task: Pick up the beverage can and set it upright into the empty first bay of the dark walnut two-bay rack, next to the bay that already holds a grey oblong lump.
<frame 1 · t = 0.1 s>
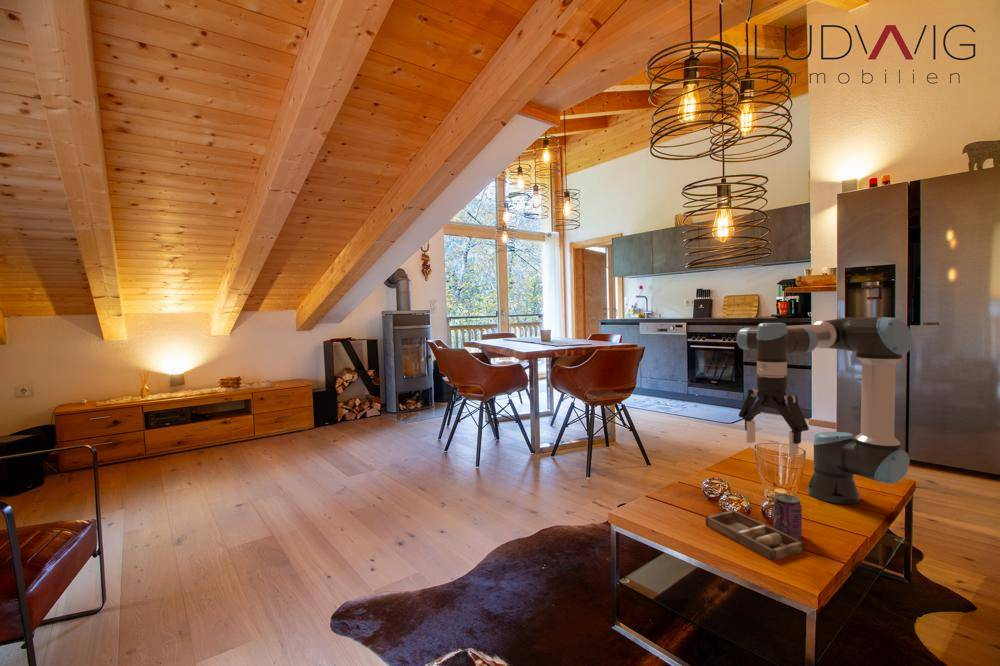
hand: (771, 448, 134), 28 cm above the table, fingers open, 13 cm apart
beverage can: (787, 538, 137), on the table
rack: (751, 540, 135), on the table
grey oblong lump: (768, 545, 130), point 1 cm above the table, touching rack
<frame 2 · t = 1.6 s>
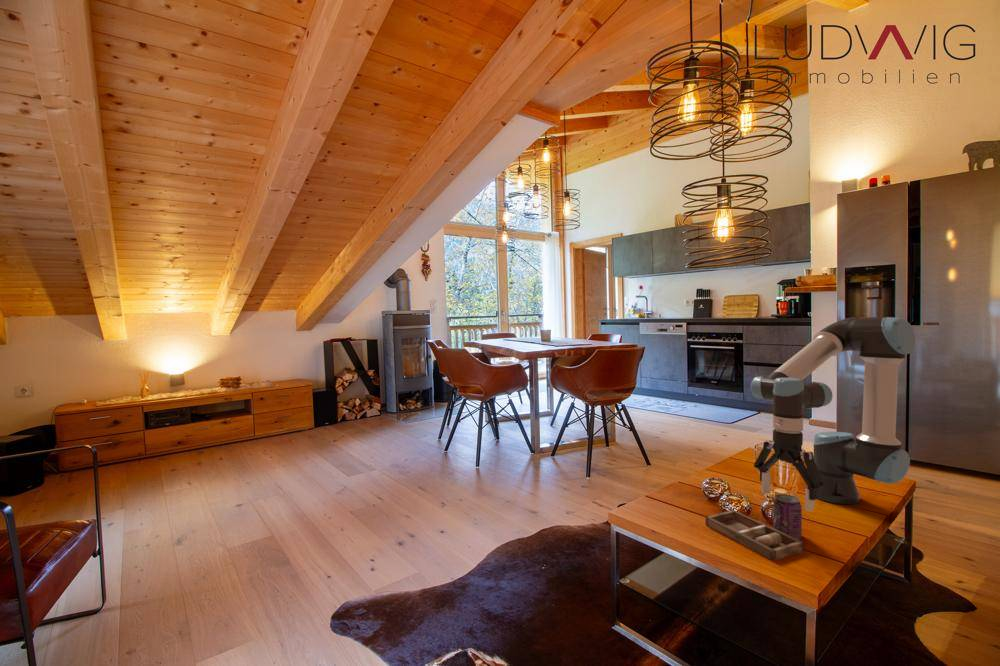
hand: (786, 501, 136), 11 cm above the table, fingers open, 13 cm apart
nothing on the table moved.
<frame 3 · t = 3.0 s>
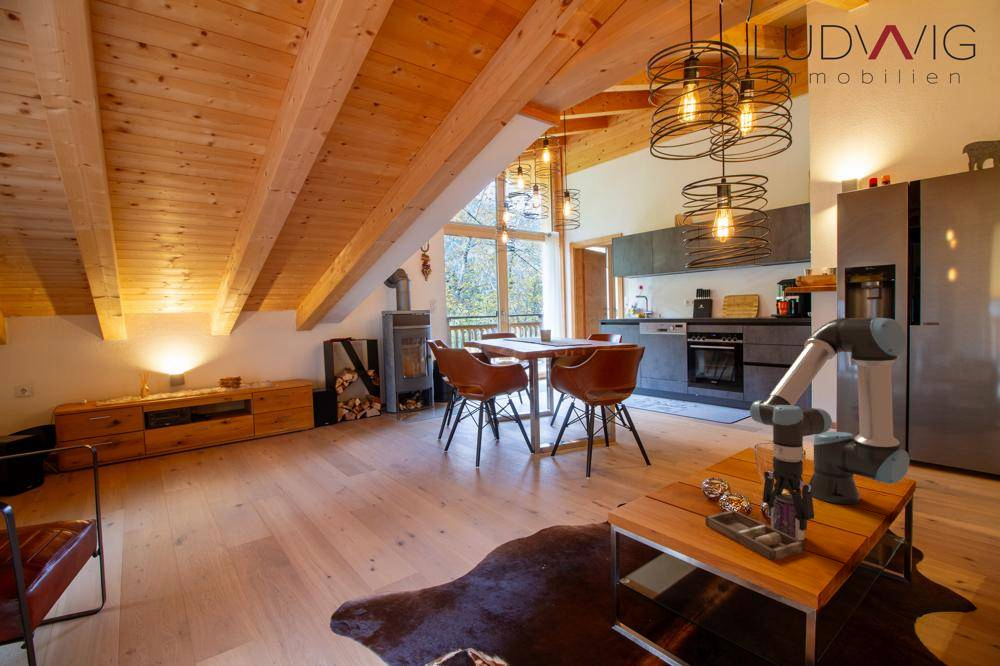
hand: (787, 533, 137), 1 cm above the table, fingers closed on beverage can, 7 cm apart
beverage can: (787, 538, 137), on the table, touching gripper
everything else where it was.
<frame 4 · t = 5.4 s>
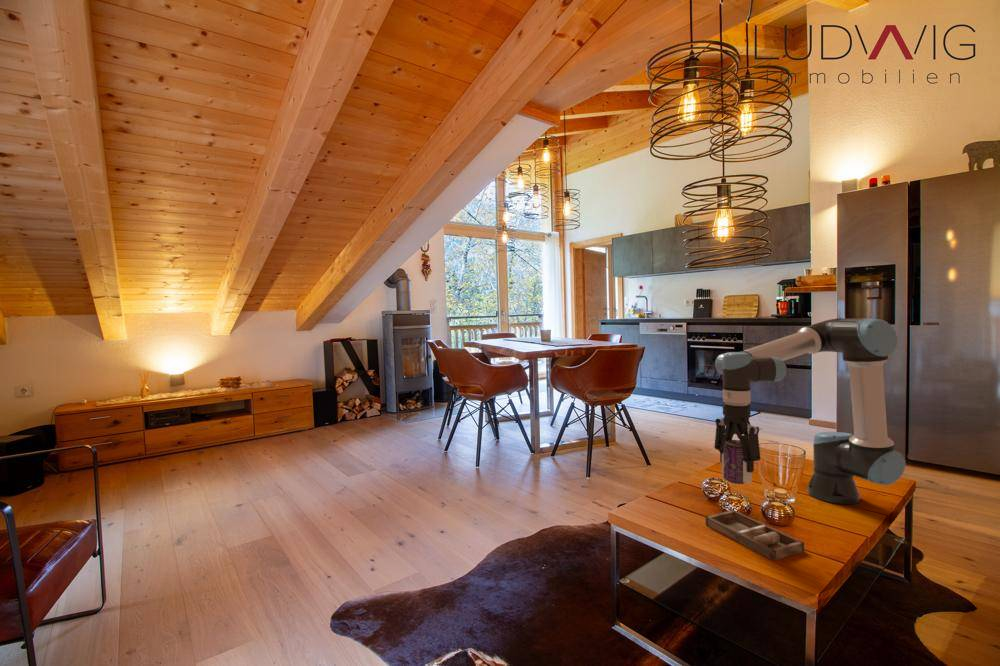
hand: (736, 477, 140), 17 cm above the table, fingers closed on beverage can, 7 cm apart
beverage can: (736, 482, 140), point 16 cm above the table, touching gripper
grey oblong lump: (768, 545, 130), point 1 cm above the table, tilted 26°, touching rack
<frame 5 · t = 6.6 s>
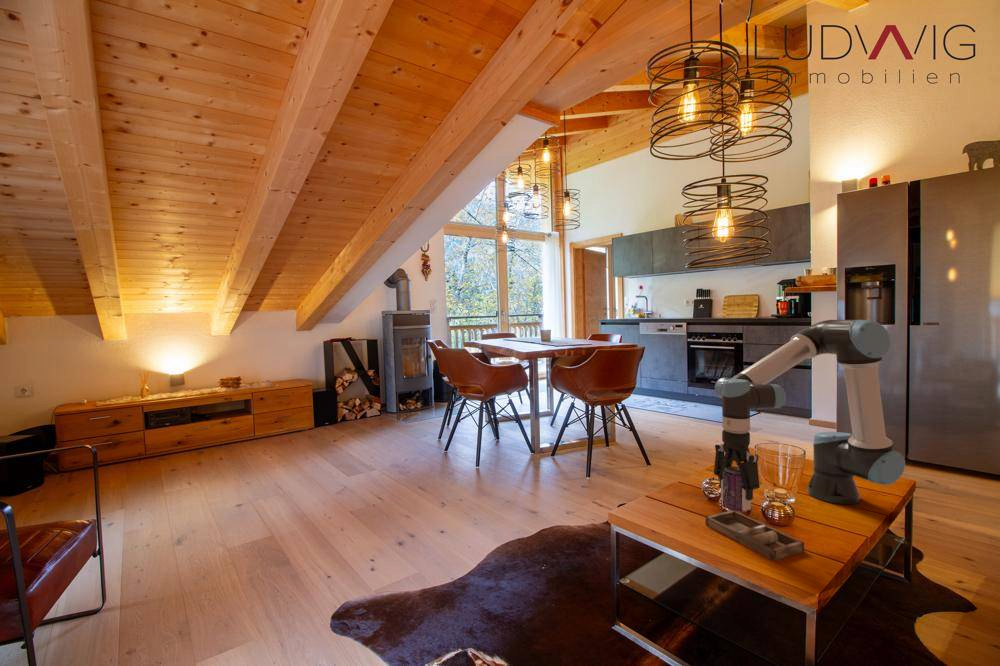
hand: (735, 504, 140), 9 cm above the table, fingers closed on beverage can, 7 cm apart
beverage can: (735, 508, 140), point 7 cm above the table, touching gripper
grey oblong lump: (768, 543, 130), point 1 cm above the table, tilted 46°, touching rack
when the fingers open (4 cm above the table, at t = 7.6 s): beverage can drops 2 cm, resting on rack.
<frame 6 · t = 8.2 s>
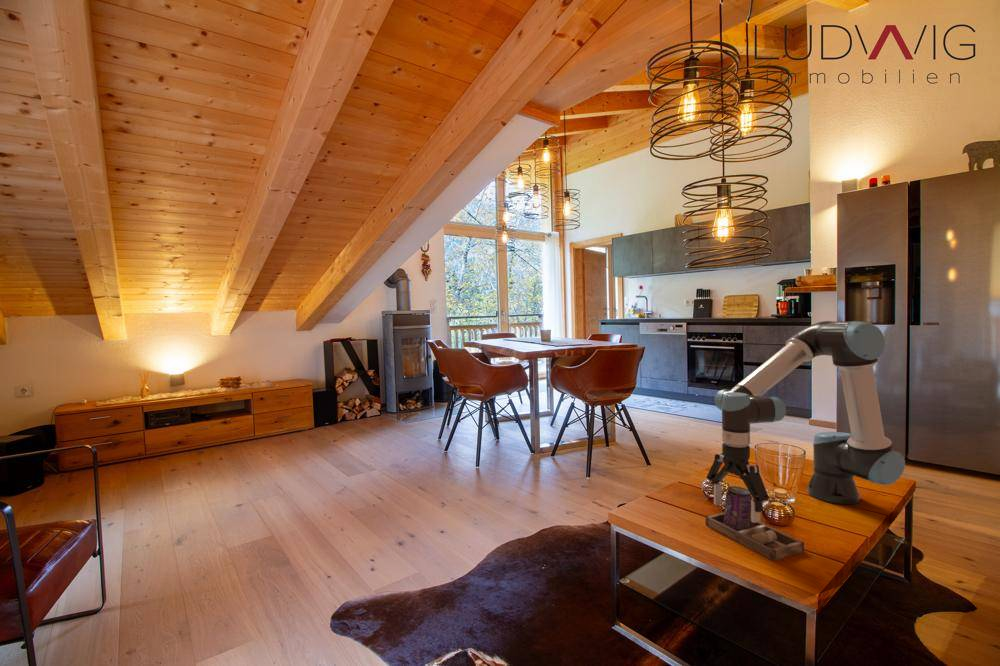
hand: (735, 512, 140), 6 cm above the table, fingers open, 13 cm apart
beverage can: (736, 528, 140), point 1 cm above the table, touching rack
grey oblong lump: (767, 542, 130), point 2 cm above the table, tilted 61°, touching rack
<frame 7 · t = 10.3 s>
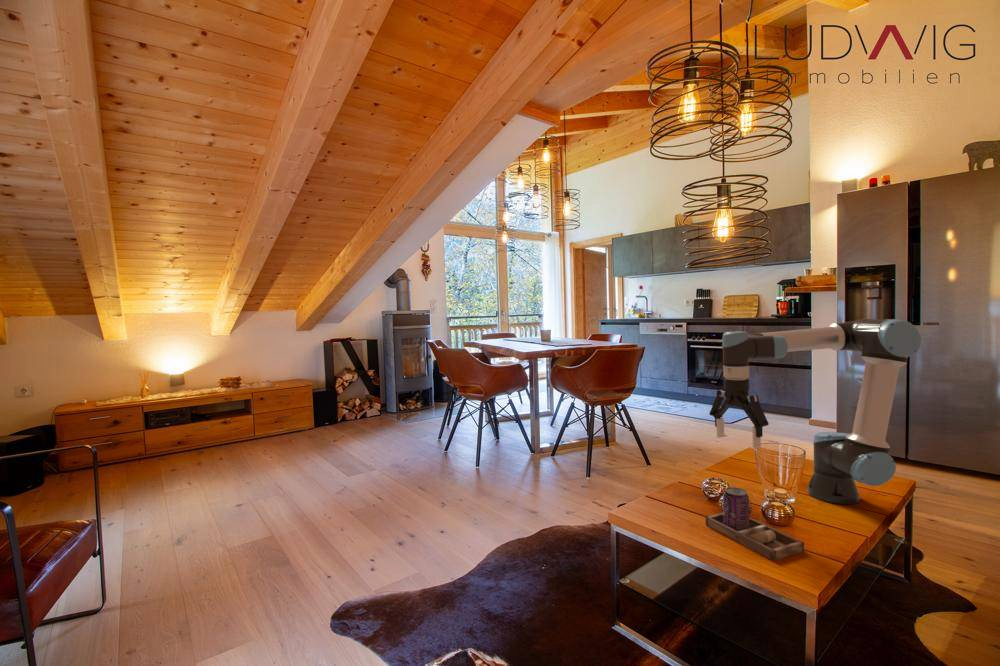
hand: (738, 441, 152), 24 cm above the table, fingers open, 13 cm apart
grey oblong lump: (767, 541, 131), point 2 cm above the table, tilted 72°, touching rack
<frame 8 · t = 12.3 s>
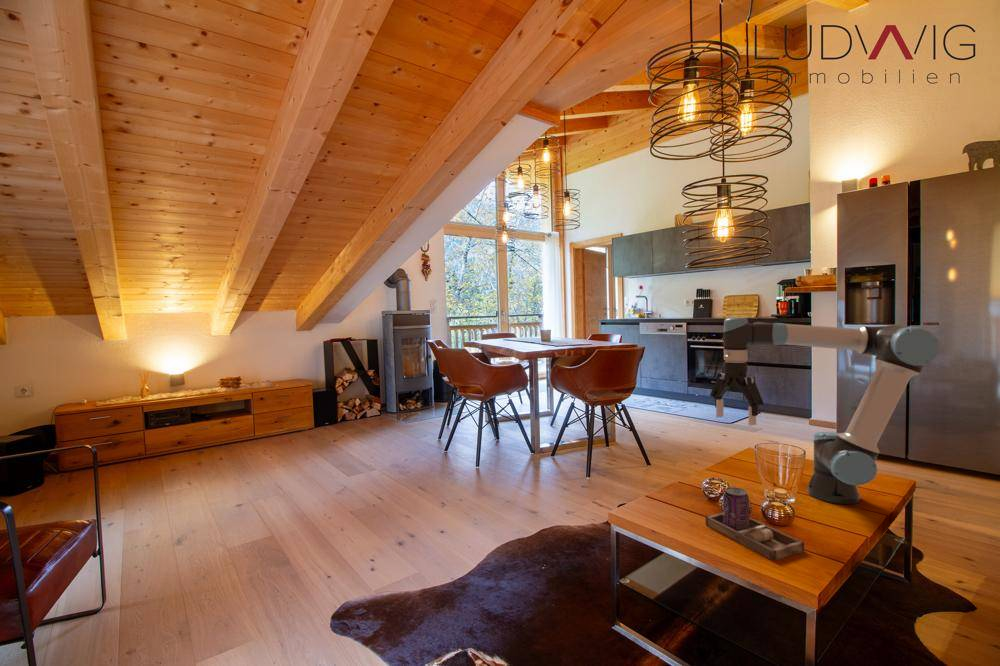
hand: (735, 420, 163), 29 cm above the table, fingers open, 13 cm apart
grey oblong lump: (764, 537, 131), point 3 cm above the table, tilted 104°, touching rack
everything else where it was.
at the end: beverage can inside the target area on the rack (0.1 cm from its centre), point 0.8 cm above the rack's base; beverage can tilted 0°; grey oblong lump moved 2.2 cm from its start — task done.
